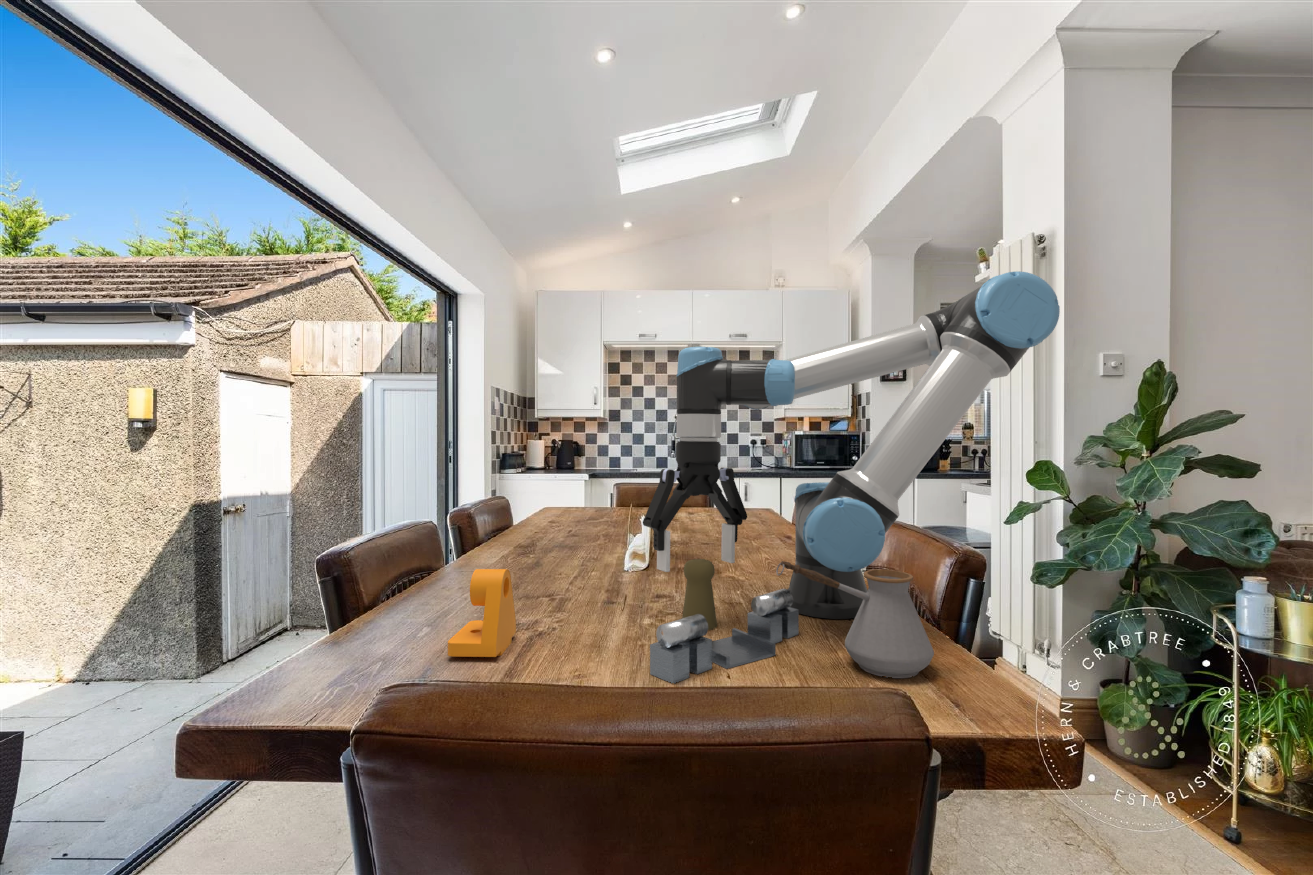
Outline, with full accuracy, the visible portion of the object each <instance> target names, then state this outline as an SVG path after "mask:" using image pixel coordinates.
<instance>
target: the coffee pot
mask: <svg viewBox="0 0 1313 875" xmlns="http://www.w3.org/2000/svg"><path fill="white" fill-rule="evenodd" d="M780 566H782V569H781V571H780V573H779V568H780ZM785 569H786V570H792V572H793V571H794V573H800V574H802V575H804V576H805V577H807V578H809V579H810V580H813V581H816V582H819V583H822V584H825V585H828V586H831V587H834V588H838V589H841V590H843V591H845V592H848V593H850V594H852V595H855V596H857V597H859V598H862V599H863V601H862V604H861V606H860V608H859V610H858V612H857V615H856V617H855V618H853V620H852V623H851V626H850V628H849V630H848V632H847V635H846V637H845V639H844V647H845V649H846V652H847V653H848V655H849V656H850V658H851V659H852V660H853V661H854V662H855V663H857V664H858V666H859V668H860V669H862V670H863V671H865V672H867V673H869V674H872V675H874V676H879V677H882V676H886V677H885V678H888V677H892V679H909V678H913V677H915V676H917V675H918V674H919V672H921V671H922V670H924V669H925V668H927V667H928V666H929V665H930V663H931V662H932V660H933V657H934V655H935V652H934V651H935V650H934V649H933V646H932V643H931V642H930V640H929V636H928V634H927V632H926V630H925V628H924V625H923V622H922V620H921V618H920V616H919V614H918V611H917V609H916V607H915V604H914V602H913V599H912V598H911V595H910V593H909V588H910V584H911V582H912V581H913V580H914V576H913V575H912V574H911V573H908V572H904V571H901V570H894V569H880V568H874V569H869V570H865V571H864V572H863V577H864V578H865V579H866V582H867V585H868V588H867V593H865V592H862V591H859V590H857V589H854V588H851V587H849V586H846V585H843V584H840V583H839V582H837V581H835V580H833V579H830V578H828V577H826V576H824V575H822V574H820V573H818V572H815V571H812V570H808V569H804V568H801V567H800V566H799V565H794V564H792V563H791V562H789V561H783V560H781V562H780V563H778V565H777V567H776V571H775V572H776V573H775V574H776V576H778V577H779V576H781V575H782V574H783V573H784V570H785ZM912 676H913V677H912Z"/></svg>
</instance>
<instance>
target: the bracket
mask: <svg viewBox="0 0 1313 875" xmlns="http://www.w3.org/2000/svg"><path fill="white" fill-rule="evenodd" d="M469 598H470V603H471V605H472V606H473V607H483V609H484V610H483V620H481V619H479V620H478V619H477V620H470V621H468V622H467V623H466V624H465V625H464V626H463V627H462V628H461V629H460V630H458V631H457V632H456V633H455V634H454V635H453V636H452V637H451V638H449V640H447V656H448V657H453V658H454V657H464V658H465V657H469V658H470V657H471V658H472V657H473V658H477V657H479V658H484V657H485V658H496V657H497V656H498V657H499V656H502V655H503V654H505V651H506V650H507V649H508V648H509V647H510V645H511V644H512V642H513V641H512V638H513V637H514V635H515V634H516V633H517V618H516V612H515V610H516V609H515V602H514V592H513V582H512V576H511V572H510V569H508V568H477V569H474V571H473V573H472V575H471V578H470V583H469Z"/></svg>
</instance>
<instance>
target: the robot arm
mask: <svg viewBox="0 0 1313 875" xmlns="http://www.w3.org/2000/svg"><path fill="white" fill-rule="evenodd" d="M1060 313H1061V312H1060V305H1059V300H1058V295H1057V294H1056V292H1055V290H1054V288H1053V287H1052V286H1051V285H1050V284H1049V282H1047V281H1046V280H1045V279H1043V278H1041V277H1040V276H1038V275H1036V274H1033V273H1030V272H1026V271H1018V270H1016V271H1009V272H1005V273H1002V274H998V275H995V276H993V277H991V278H989V279H988V280H987V281H985V282H984V283H983V284H982V285H981V286H979V287H978V288H975V289H974V290H973V291H971V292H969V293H967V294H965V295H964V296H962V297H961V298H959V299H958V300H956V301H954V302H953V303H951V304H949V305H947V306H945V307H943V308H941V309H938V310H936V311H933V312H931V313H927V314H924V315H920V316H919V317H918V319H917V321H916V322H915V323H912V324H909V325H904V326H901V327H898V328H894V329H891V330H890V329H889V330H888V331H883V332H880V333H876V334H874V335H870V336H869V335H868V336H866V337H862V338H858V339H854V340H852V341H847V342H845V343H841V344H837V345H833V346H830V347H827V348H822V349H819V350H816V351H812V352H808V353H805V354H802V355H798V356H795V357H791V358H787V359H784V360H783V359H782V360H781V359H776V358H771V359H749V360H748V359H746V360H745V359H742V360H741V359H740V360H739V359H738V360H737V359H736V360H734V359H733V360H729V359H724V356H723V353H722V350H721V349H720V348H718V347H713V346H690V347H686V348H682V349H681V350H680V351H679V354H678V356H677V372H676V434H675V435H676V437H677V438H679V441H677V442H676V444H675V461H676V463H677V468H676V470H674V469H668V468H662V469H661V470H660V473H659V482H658V484H657V487H656V489H655V492H654V493H653V496H652V498H651V501H650V503H649V506H648V509H647V511H646V513H645V515H644V518H643V520H642V526H644V527H647V528H650V529H652V531H653V542H652V543H653V547H652V548H653V549H654V550H655V551H656V570H659V571H662V572H664V573H669V572H671V531H670V530H667V528H668V527H669V525H670V524H671V522H672V521H673V520H674V518H675V516H676V515H677V513H678V512H679V511H680V510H681V508H682V506H683V504H684V503H685V501H686V500H688V499H689V498H690V497H691V496H693V497H698V496H700V495H701V496H707V497H709V499H710V500H711V502H712V503H713V505H714V506H715V508H716V509H717V511H718V513H719V514H720V515H721V517H722V518H723V519H724V521H725V522H726V523H725V522H724V523H721V551H720V552H721V554H720V555H721V557H720V558H721V559H720V560H721V561H723V562H726V563H729V564H735V558H736V556H735V554H736V552H735V551H736V543H737V542H738V526H741V525H742V524H743V521H746V520H747V518H748V514H747V511H746V507H745V506H744V503H743V499H742V496H741V494H740V492H739V489H738V487H737V485H736V482H735V472H734V471H735V470H734V469H733V468H732V467H730V468H729V467H720V468H719V464H720V462H721V452H722V448H721V446H722V445H721V443H720V441H718V439H720V438H722V406H724V405H726V406H733V405H734V406H745V407H747V408H749V409H750V410H754V411H758V410H763V409H766V408H769V407H770V406H772V407H777V406H788V405H790V404H792V403H793V401H794V400H795V399H800V398H803V397H807V396H810V395H814V394H818V393H822V392H826V391H829V390H834V389H836V388H837V389H838V388H840V387H841V388H842V387H844V386H848V385H853V384H855V383H859V382H863V381H867V380H870V379H874V378H878V377H882V376H886V375H889V374H892V373H896V372H900V371H905V370H907V369H911V368H915V367H920V366H923V365H927V366H929V367H928V368H927V369H926V371H925V372H924V373H923V375H922V376H921V377H920V379H919V380H918V381H917V383H916V384H914V386H913V388H912V389H911V390H910V392H909V393H908V395H907V396H906V397H905V398H904V400H903V401H902V402H901V403H900V405H899V406H898V407H897V409H896V410H895V412H894V413H893V414H892V416H890V418H889V419H888V421H887V422H886V423H885V424H884V426H883V427H882V429H880V431H879V433H878V434H877V435H875V436H876V437H875V438H874V439H873V440H872V441H871V443H870V444H869V445H868V447H867V448H866V449H865V451H864V452H863V453H862V455H861V457H860V458H859V459H858V460H857V461H856V463H855V464H854V466H853V467H852V468H849V469H845V470H841V471H837V472H836V473H835V474H834V476H833V478H832V479H831V480H830V481H829V482H804V483H800V484H798V485H797V486H796V488H795V496H794V497H793V500H794V503H795V544H794V545H795V565H799V566H800V567H801V568H804V569H808V570H812V571H815V572H818V573H820V574H822V575H824V576H826V577H828V578H830V579H833V580H835V581H837V582H839V583H840V584H843V585H846V586H849V587H851V588H854V589H857V590H859V591H862V592H865V593H867V590H868V588H867V585H866V584H867V583H866V581H865V577H864V573H863V571H862V569H865V568H866V567H869V566H870V565H872V564H873V563H874V561H876V559H878V558H879V556H880V555H881V553H882V551H883V549H884V544H885V542H886V534H887V532H888V531H889V529H890V528H891V527H892V525H894V523H895V522H896V520H897V519H898V518H899V516H900V510H899V501H900V498H901V497H903V494H904V493H905V492H906V490H908V488H909V487H910V486H911V485H912V483H913V482H914V481H915V479H916V478H917V477H918V475H919V474H920V473H921V471H922V470H923V469H924V467H925V466H926V465H927V463H928V462H929V461H930V459H931V458H932V457H933V456H934V455H935V453H936V452H937V451H938V449H939V448H940V447H941V445H942V444H943V443H944V441H945V440H946V439H947V438H948V437H949V435H950V434H951V432H952V431H953V430H954V428H955V427H956V426H957V425H958V424H959V423H960V421H961V420H962V418H964V415H965V414H966V413H967V412H968V411H969V409H970V408H971V406H972V405H973V404H974V402H975V401H976V400H977V398H979V396H980V394H981V393H982V392H983V391H984V390H985V388H986V387H987V386H988V385H989V383H990V382H991V381H992V380H993V379H998V378H1004V377H1007V376H1008V375H1009V374H1010V373H1011V372H1012V370H1013V369H1014V367H1016V365H1017V364H1018V363H1019V361H1020V360H1021V359H1022V357H1023V356H1024V355H1025V353H1027V351H1028V350H1029V349H1030V348H1033V347H1035V346H1038V345H1039V344H1042V342H1043V341H1044V340H1046V339H1047V338H1048V337H1049V336H1050V335H1051V334H1052V333H1053V332H1054V330H1055V329H1056V327H1057V325H1058V323H1059V318H1060ZM718 481H719V482H720V485H721V487H720V486H719V484H718ZM675 482H678V483H677V484H676V486H675V487H674V483H675ZM673 487H674V489H673ZM671 492H672V495H671ZM723 493H724V494H723ZM670 495H671V496H670ZM724 495H725V496H724ZM669 497H670V498H669ZM786 589H787V590H789V591H790V592H791V594H792V596H793V603H792V605H791V606H790V608H795V609H799V614H801V615H804V616H808V617H813V618H822V619H831V620H833V619H834V620H846V619H847V620H848V619H849V620H850V619H855V617H856V615H857V612H858V610H859V608H860V606H861V604H862V601H863V599H862V598H859V597H857V596H855V595H852V594H850V593H848V592H845V591H843V590H841V589H838V588H834V587H831V586H828V585H825V584H822V583H819V582H816V581H813V580H810V579H809V578H807V577H805V576H804V575H802V574H800V573H794V571H793V570H792V574H791V578H790V581H789V586H788V588H786Z"/></svg>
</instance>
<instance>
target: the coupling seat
mask: <svg viewBox="0 0 1313 875" xmlns="http://www.w3.org/2000/svg"><path fill="white" fill-rule="evenodd" d="M776 644H777V643H776ZM776 644H773V643H771V642H768V641H766V640H763V639H761V638H758V637H756V636H753V635H751V634H748V632H746V631H744V630H741V629H739V628H736V627H733V628H732V629H731V636H728V637H723V638H720V639H715V640H712V663H714V664H715V665H718V666H720V667H722V668H724V669H725V670H728V669H731V668H735V667H738V666H743V665H746V664H749V663H753V662H757V661H760V660H764V659H768V658H772V657H776V653H777V652H776V650H777V649H776Z"/></svg>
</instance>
